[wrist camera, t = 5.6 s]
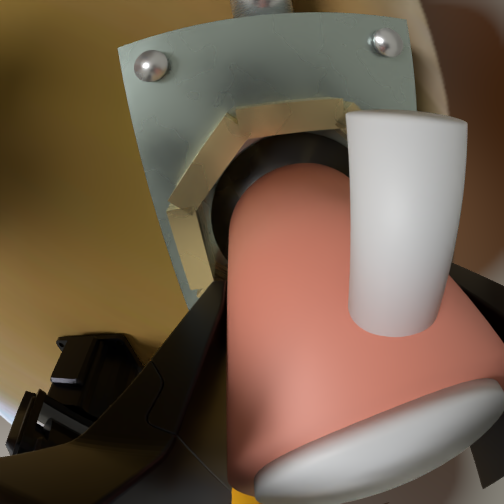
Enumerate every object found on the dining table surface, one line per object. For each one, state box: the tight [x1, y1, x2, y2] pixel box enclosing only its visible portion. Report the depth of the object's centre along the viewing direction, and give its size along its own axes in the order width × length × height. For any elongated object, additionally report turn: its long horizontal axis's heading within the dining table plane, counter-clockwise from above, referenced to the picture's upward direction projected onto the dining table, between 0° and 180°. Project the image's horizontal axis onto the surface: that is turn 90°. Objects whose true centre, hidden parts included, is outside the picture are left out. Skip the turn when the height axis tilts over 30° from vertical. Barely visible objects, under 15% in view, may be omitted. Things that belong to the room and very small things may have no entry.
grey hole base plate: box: [118, 0, 417, 310], centre depth 12 cm, size 19×11×4 cm, turn 9°
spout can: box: [226, 109, 504, 504], centre depth 6 cm, size 7×5×8 cm
